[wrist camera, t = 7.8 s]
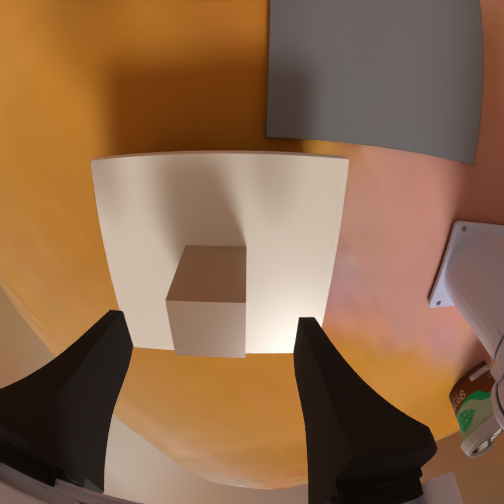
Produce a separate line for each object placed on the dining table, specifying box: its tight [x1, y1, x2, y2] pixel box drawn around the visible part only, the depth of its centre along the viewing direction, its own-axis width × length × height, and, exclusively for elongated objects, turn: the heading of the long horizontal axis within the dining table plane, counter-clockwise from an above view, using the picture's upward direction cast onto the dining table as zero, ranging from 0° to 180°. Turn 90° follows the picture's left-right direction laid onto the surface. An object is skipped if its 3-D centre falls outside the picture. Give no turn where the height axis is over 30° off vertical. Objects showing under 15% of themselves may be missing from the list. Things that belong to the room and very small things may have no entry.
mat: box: [266, 0, 483, 165], centre depth 13 cm, size 15×15×1 cm
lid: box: [91, 150, 349, 358], centre depth 14 cm, size 12×12×5 cm
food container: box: [449, 361, 504, 458], centre depth 27 cm, size 12×6×10 cm, turn 21°
